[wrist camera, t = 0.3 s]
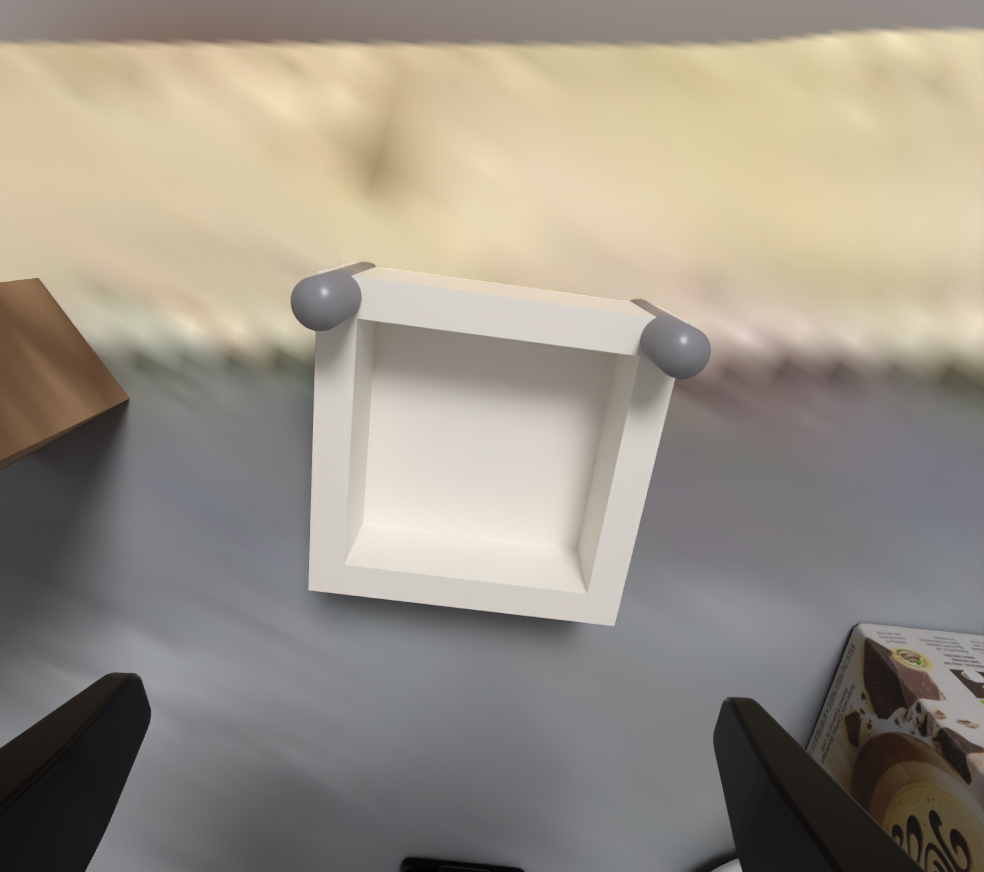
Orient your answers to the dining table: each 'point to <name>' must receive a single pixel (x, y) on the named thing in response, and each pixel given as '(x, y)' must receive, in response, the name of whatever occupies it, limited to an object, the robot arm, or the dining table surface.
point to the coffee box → (911, 739)
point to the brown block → (45, 372)
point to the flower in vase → (729, 867)
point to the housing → (483, 438)
